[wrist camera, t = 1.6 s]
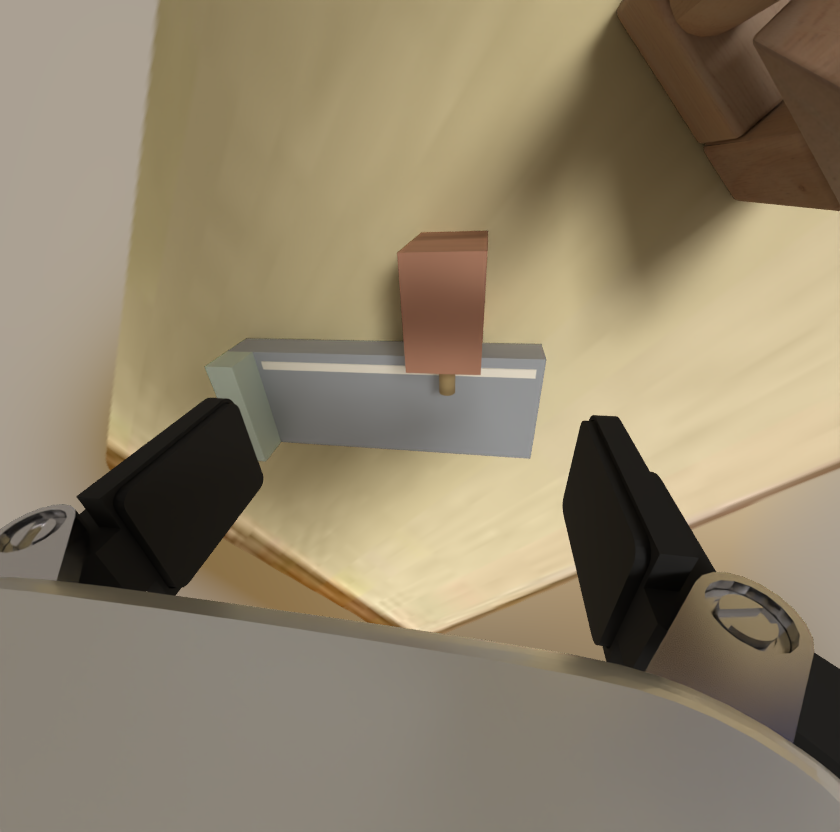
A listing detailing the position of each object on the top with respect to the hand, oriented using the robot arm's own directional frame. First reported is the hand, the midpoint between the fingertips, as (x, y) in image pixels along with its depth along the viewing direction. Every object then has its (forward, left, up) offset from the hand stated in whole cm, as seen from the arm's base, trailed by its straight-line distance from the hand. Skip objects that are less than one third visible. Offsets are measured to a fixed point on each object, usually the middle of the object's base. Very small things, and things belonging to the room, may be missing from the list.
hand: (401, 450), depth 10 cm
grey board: (+7, -5, -17) cm, 19 cm away
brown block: (+1, 0, -17) cm, 17 cm away
